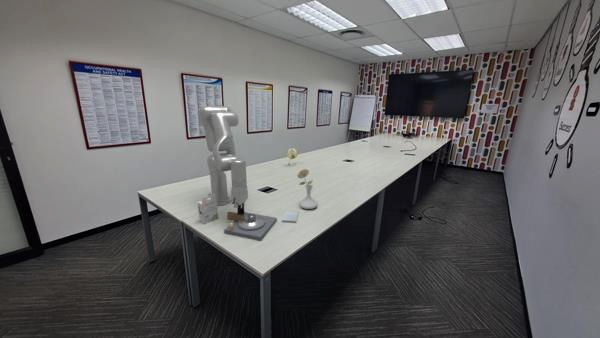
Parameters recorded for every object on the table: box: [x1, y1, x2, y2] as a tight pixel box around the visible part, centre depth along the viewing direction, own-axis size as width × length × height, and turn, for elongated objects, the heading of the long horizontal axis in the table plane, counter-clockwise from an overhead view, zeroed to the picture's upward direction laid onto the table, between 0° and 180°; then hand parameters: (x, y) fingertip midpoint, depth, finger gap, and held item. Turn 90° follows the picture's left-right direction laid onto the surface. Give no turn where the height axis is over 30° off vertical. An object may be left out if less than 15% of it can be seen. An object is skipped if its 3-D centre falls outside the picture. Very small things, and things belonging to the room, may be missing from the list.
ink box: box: [197, 194, 219, 224], centre depth 126 cm, size 9×5×15 cm, turn 141°
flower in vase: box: [297, 168, 318, 210], centre depth 143 cm, size 13×11×25 cm
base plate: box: [223, 211, 278, 242], centre depth 121 cm, size 20×20×6 cm
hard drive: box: [281, 210, 300, 224], centre depth 133 cm, size 2×8×12 cm
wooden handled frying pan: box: [226, 211, 265, 230], centre depth 122 cm, size 21×14×4 cm, turn 73°
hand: (241, 214), depth 126 cm, fingers closed
